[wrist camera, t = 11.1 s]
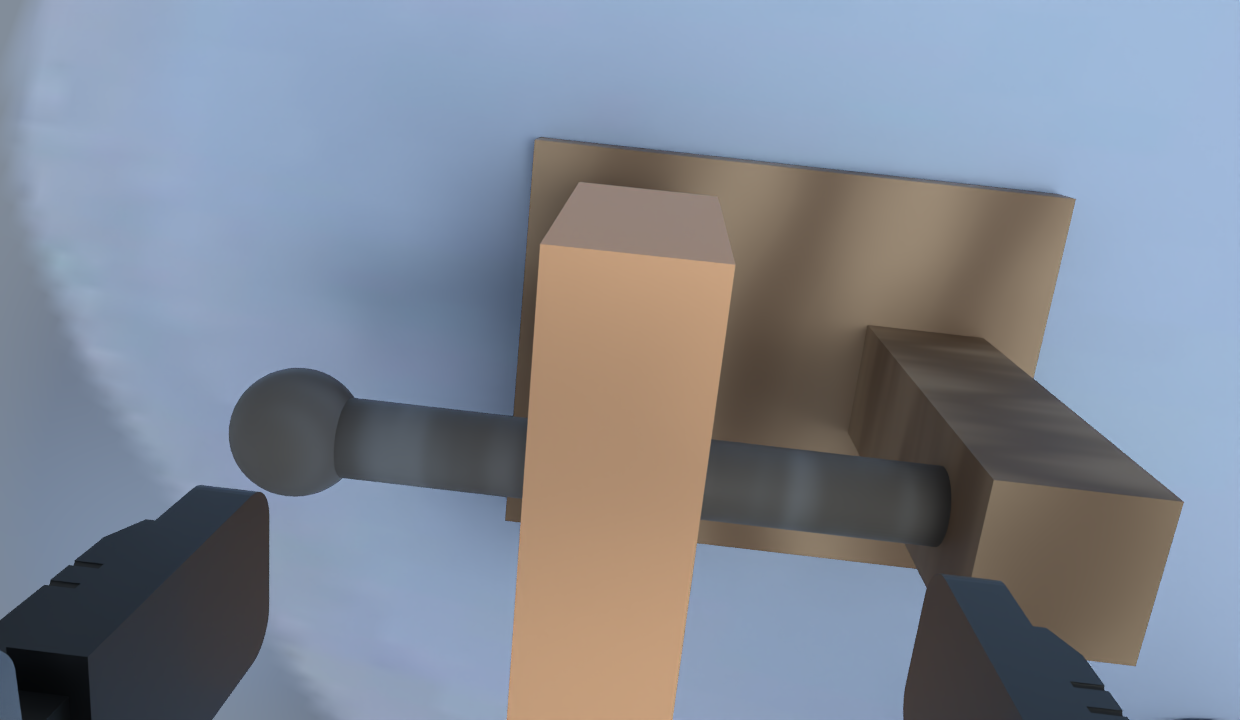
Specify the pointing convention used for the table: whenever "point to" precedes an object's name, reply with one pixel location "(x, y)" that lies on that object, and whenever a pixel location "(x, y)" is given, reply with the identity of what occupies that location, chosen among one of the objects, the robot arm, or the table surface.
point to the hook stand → (823, 394)
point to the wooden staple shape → (617, 450)
